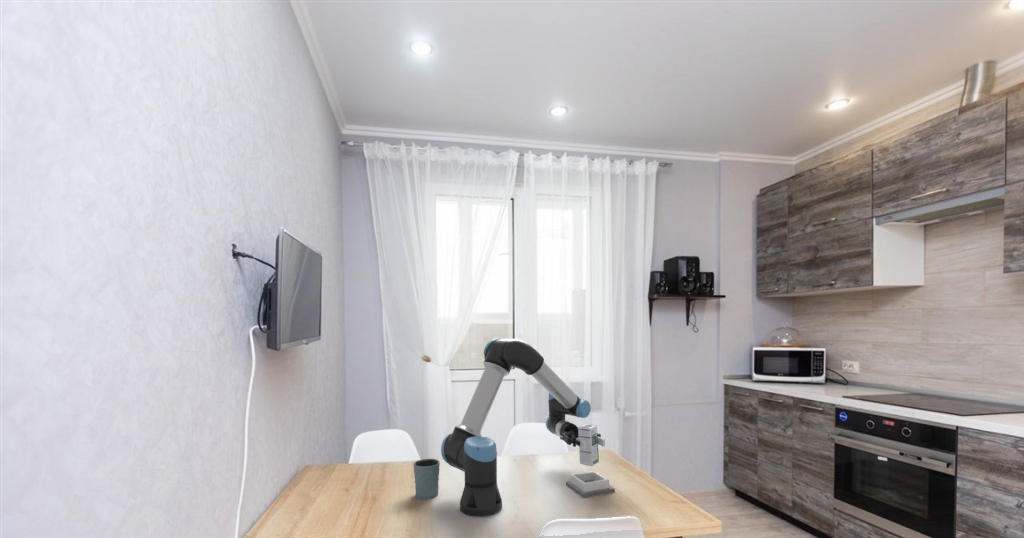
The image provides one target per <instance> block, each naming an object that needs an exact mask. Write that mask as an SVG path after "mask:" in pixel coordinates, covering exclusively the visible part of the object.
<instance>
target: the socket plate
mask: <svg viewBox="0 0 1024 538" xmlns="http://www.w3.org/2000/svg"><path fill="white" fill-rule="evenodd" d="M565 486H566V487H568V488H569V489H571V490H572V491H573V492H575V493H576V494H578V495H579V496H580V497H581V498H588V497H595V496H600V495H604V494H611V493H615V492H616V490H615V489H616V488H614V487H612V486H611V485H610V479H609V478H607V477H605V476H603V475H601V474H600V473H598V472H597V471H595V470H593V471H585V472H579V473H573V474H570V480H568V481H565Z"/></svg>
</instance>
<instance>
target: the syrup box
mask: <svg viewBox="0 0 1024 538" xmlns="http://www.w3.org/2000/svg"><path fill="white" fill-rule="evenodd" d="M577 427H578V434H579V439H581V440H583V441H585V442H586V449H583V448H581V447H579V446H578V450H579V451H578V452H579V453H578V454H579V455H578V456H579V464H580V465H583V466H589V467H593V466H595V465H596V464H599V462H600V457H599V444H598V435H597V433H598V425H595V424H592V423H591V424H588V423H584V424H583V425H580V426H577Z"/></svg>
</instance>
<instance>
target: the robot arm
mask: <svg viewBox="0 0 1024 538" xmlns="http://www.w3.org/2000/svg"><path fill="white" fill-rule="evenodd" d="M483 355H484V356H483V358H484V361H483V366H484V370H483V372H482V374H481V377H480V378H479V381H478V384H477V386H476V388H475V390H474V393H473V395H472V396H471V397H472V398H471V399H470V402H469V404H468V406H467V408H466V410H465V413H464V414H463V418H462V420H461V422H460V423H459V424H457V425H455V427H454V429H453V431H452V432H451V433H449V434H448V435H446V436H445V437H444V439H443V440H442V442H441V447H440V454H441V456H442V459H443V460H444V462H445V463H446V464H448V465H449V466H450V467H452V468H455V469H458V470H460V471H462V472H464V487H463V490H462V494H461V497H460V500H459V510H460V512H461V513H462V514H465V515H467V516H471V517H487V516H492V515H494V514H497V513H499V512H500V511H501V510H502V508H503V500H502V497H501V493H500V489H499V487H498V476H497V475H498V473H497V472H498V468H497V467H498V466H497V465H498V464H497V463H498V451H497V450H498V449H497V443H496V442H495V441H494V439H492V438H490V437H487V436H482V434H481V433H482V430H483V428H484V425H485V423H486V421H487V419H488V416H489V413H490V410H491V408H492V406H493V403H494V402H495V398H496V397H497V394H498V392H499V390H500V387H501V384H502V382H503V379H504V378H505V377H506V376H508V375H510V372H511V370H512V368H516V369H519V370H520V371H523V372H524V373H525V374H526V375H527V376H531V377H532V378H534V380H536V382H537V383H539V384H540V385H541V386H542V387H543V388H544V389H545V390H546V391H547V392H548V417H547V419H546V420H545V428H546V429H547V430H548V431H549V432H550V433H551V434H553V435H556V436H557V437H559V440H561V441H563V442H565V444H567V445H568V446H571V445H572V447H575V448H576V446H578V448H579V447H581V448H583V449H586V442H585V441H583V440H581V439H579V434H578V427H579V426H577V425H576V424H575V423H572V422H571V421H568V420H566V415H568V416H572V417H576V418H581V419H585V418H587V417H589V416H590V413H591V410H592V408H591V403H590V402H589V401H588V400H585V399H582V398H580V397H579V396H578V395H577V394H576V393H575V392H574V391H573V390H572V389H571V388H570V387H569V386H568V385H567V384H566V383H565V382H564V381H563V380H562V379H561V377H560V376H559V375H558V374H556V373H555V371H554V370H552V368H551V367H549V365H548V364H547V363H546V362H545V358H544V357H543V355H541V354H540V353H539V352H538V350H537V349H535V348H534V347H533V346H532V345H531V344H529V343H528V342H526V341H524V340H522V339H519V338H505V337H497V338H493V339H491V340H489V341H488V342H487V343H486V344H485V346H484V349H483ZM597 435H598V446H601V447H606V439H605V438H603V437H602V436H601V435H602V434H600V433H599V432H597Z"/></svg>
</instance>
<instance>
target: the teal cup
mask: <svg viewBox="0 0 1024 538" xmlns="http://www.w3.org/2000/svg"><path fill="white" fill-rule="evenodd" d="M440 462H441V461H440V460H439V459H436V458H425V459H420V460H416V461H415V462H413V474H414V485H415V486H414V487H415V497H416V498H417V499H420V500H428V498H430V499H433V497H434V498H436V497H438V495H439V488H440V487H439V480H440V478H439V476H440V466H441V465H440ZM435 496H436V497H435Z"/></svg>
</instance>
